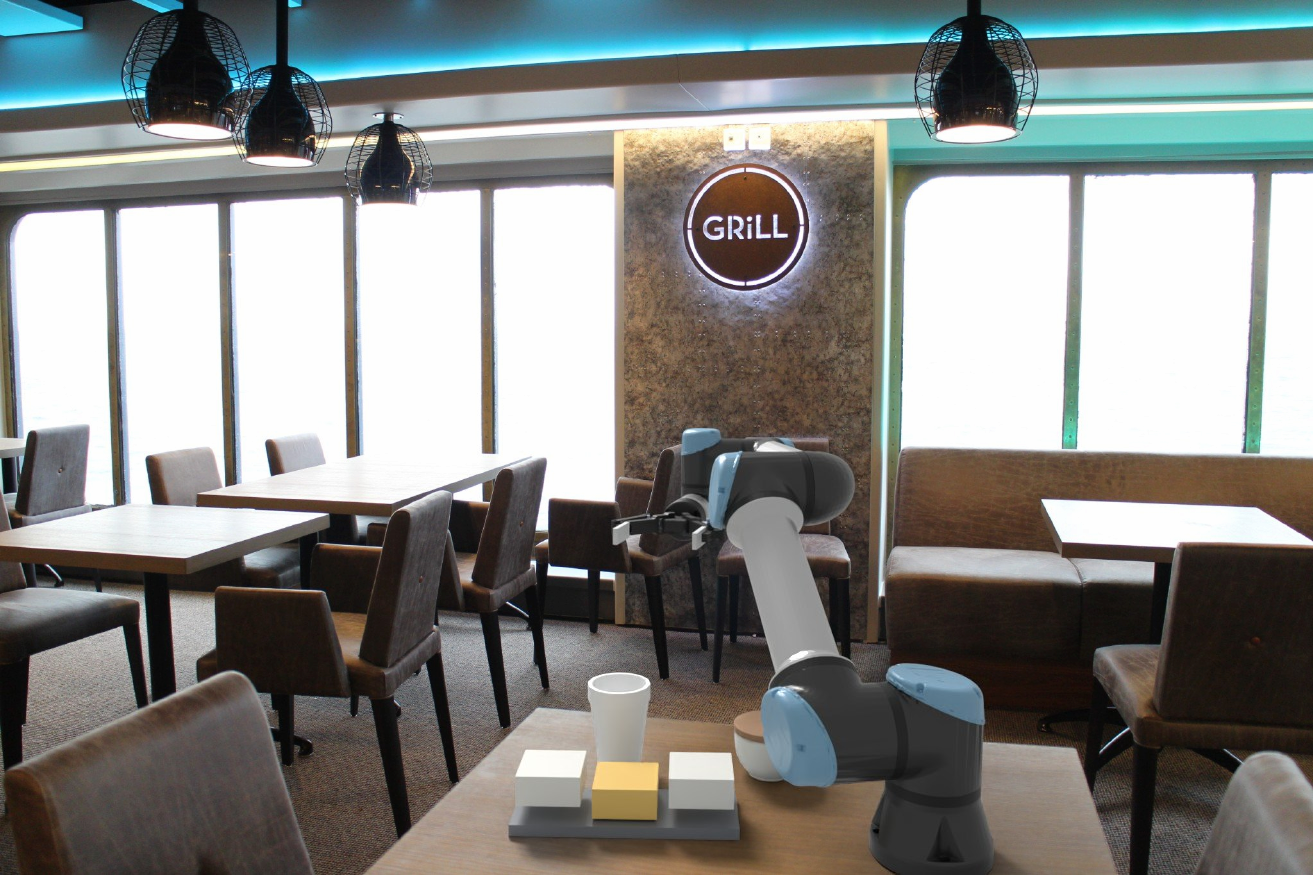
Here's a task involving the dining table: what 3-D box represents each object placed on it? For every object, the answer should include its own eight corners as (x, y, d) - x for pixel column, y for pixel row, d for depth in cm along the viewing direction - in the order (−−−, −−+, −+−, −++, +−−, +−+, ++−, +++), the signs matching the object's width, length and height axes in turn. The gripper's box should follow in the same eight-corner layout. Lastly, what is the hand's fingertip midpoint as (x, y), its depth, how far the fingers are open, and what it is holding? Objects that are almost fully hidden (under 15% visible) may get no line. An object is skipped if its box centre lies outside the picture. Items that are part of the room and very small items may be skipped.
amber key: (658, 790, 136) (658, 762, 136) (656, 819, 128) (656, 790, 127) (597, 789, 137) (597, 761, 136) (591, 818, 128) (591, 789, 128)
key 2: (730, 780, 136) (731, 752, 135) (733, 809, 127) (734, 779, 127) (669, 779, 136) (669, 751, 136) (668, 808, 128) (668, 778, 127)
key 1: (586, 778, 136) (586, 750, 136) (580, 806, 128) (579, 777, 128) (525, 777, 137) (525, 749, 136) (515, 805, 128) (515, 776, 128)
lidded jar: (721, 764, 150) (721, 704, 149) (783, 753, 153) (784, 695, 153) (753, 793, 140) (754, 730, 139) (818, 781, 144) (819, 719, 143)
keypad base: (735, 800, 137) (735, 790, 137) (739, 840, 126) (739, 829, 126) (522, 797, 138) (522, 787, 138) (508, 836, 127) (508, 825, 127)
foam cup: (653, 754, 153) (653, 673, 152) (647, 780, 144) (647, 694, 142) (592, 752, 154) (592, 671, 153) (583, 777, 145) (582, 692, 143)
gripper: (753, 541, 178) (728, 566, 157) (623, 533, 185) (583, 556, 165) (754, 500, 177) (728, 520, 157) (623, 494, 184) (583, 512, 164)
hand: (654, 539), depth 161 cm, fingers open, 13 cm apart
